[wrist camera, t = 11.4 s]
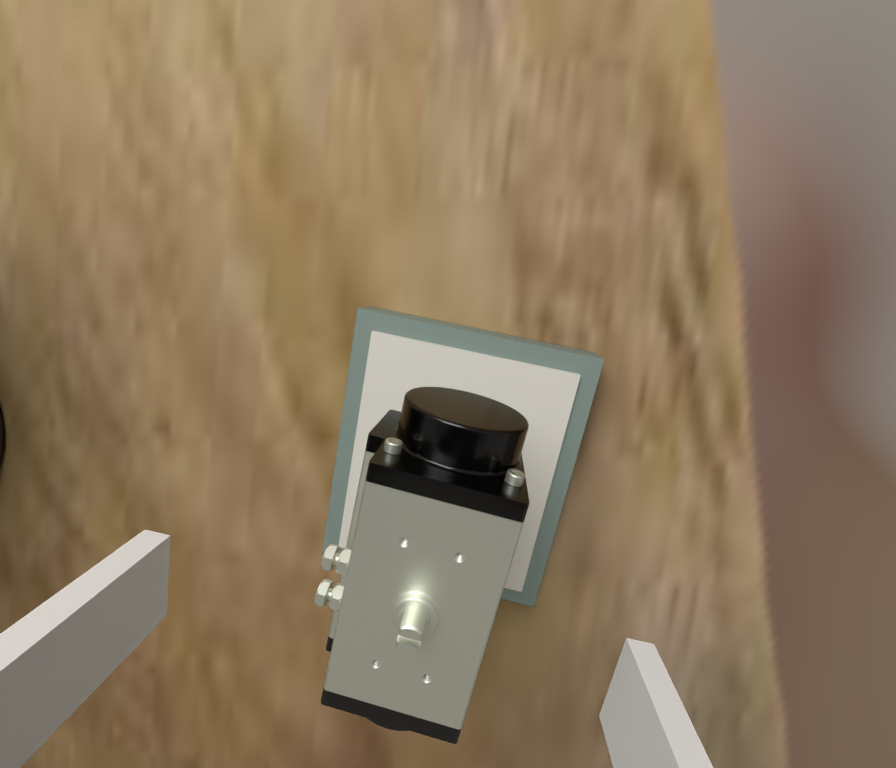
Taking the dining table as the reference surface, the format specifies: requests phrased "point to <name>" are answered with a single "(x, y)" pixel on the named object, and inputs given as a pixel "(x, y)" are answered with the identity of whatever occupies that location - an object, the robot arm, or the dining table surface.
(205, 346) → the dining table surface
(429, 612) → the pneumatic valve
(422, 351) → the stand
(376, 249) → the dining table surface
